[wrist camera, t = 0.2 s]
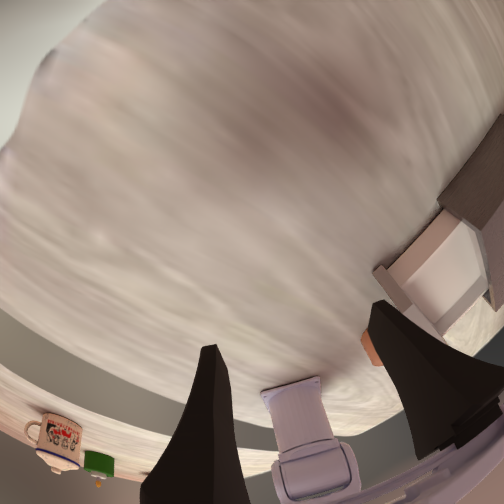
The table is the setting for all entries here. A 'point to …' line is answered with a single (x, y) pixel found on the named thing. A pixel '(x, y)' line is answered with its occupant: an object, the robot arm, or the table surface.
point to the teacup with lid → (57, 442)
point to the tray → (437, 276)
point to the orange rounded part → (370, 349)
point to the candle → (99, 465)
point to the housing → (483, 206)
